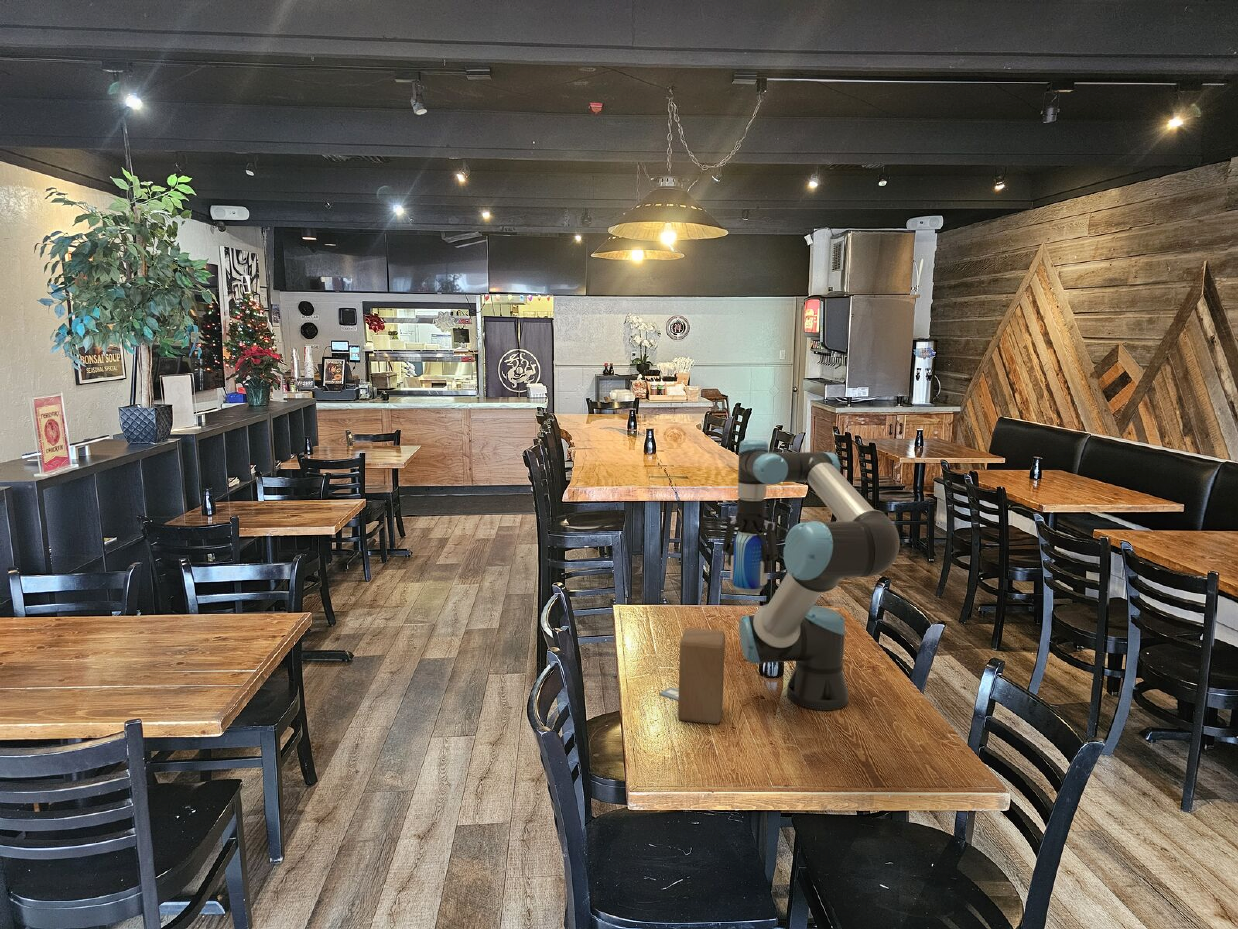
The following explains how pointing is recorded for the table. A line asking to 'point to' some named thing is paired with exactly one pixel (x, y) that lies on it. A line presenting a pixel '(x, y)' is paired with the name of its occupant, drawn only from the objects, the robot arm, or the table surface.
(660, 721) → the table surface
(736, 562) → the beer can
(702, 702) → the block
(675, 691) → the card
